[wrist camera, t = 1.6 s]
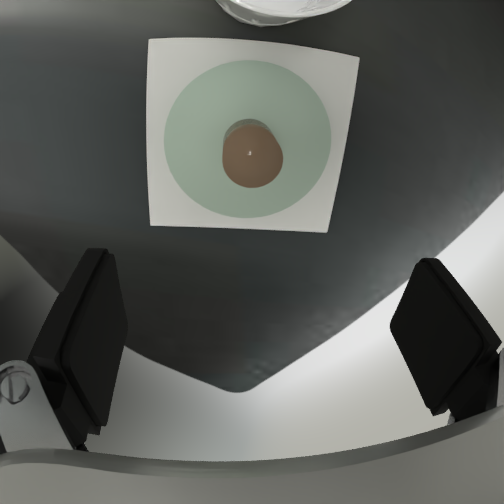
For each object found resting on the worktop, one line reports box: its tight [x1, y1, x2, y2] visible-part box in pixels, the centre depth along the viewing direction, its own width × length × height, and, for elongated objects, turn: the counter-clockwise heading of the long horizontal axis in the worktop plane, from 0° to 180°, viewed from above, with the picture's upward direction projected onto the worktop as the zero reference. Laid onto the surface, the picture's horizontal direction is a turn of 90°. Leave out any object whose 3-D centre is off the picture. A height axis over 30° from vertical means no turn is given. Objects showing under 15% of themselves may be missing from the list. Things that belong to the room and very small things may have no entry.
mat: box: [146, 38, 360, 233], centre depth 23 cm, size 15×15×1 cm
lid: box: [164, 60, 331, 218], centre depth 21 cm, size 12×12×5 cm
